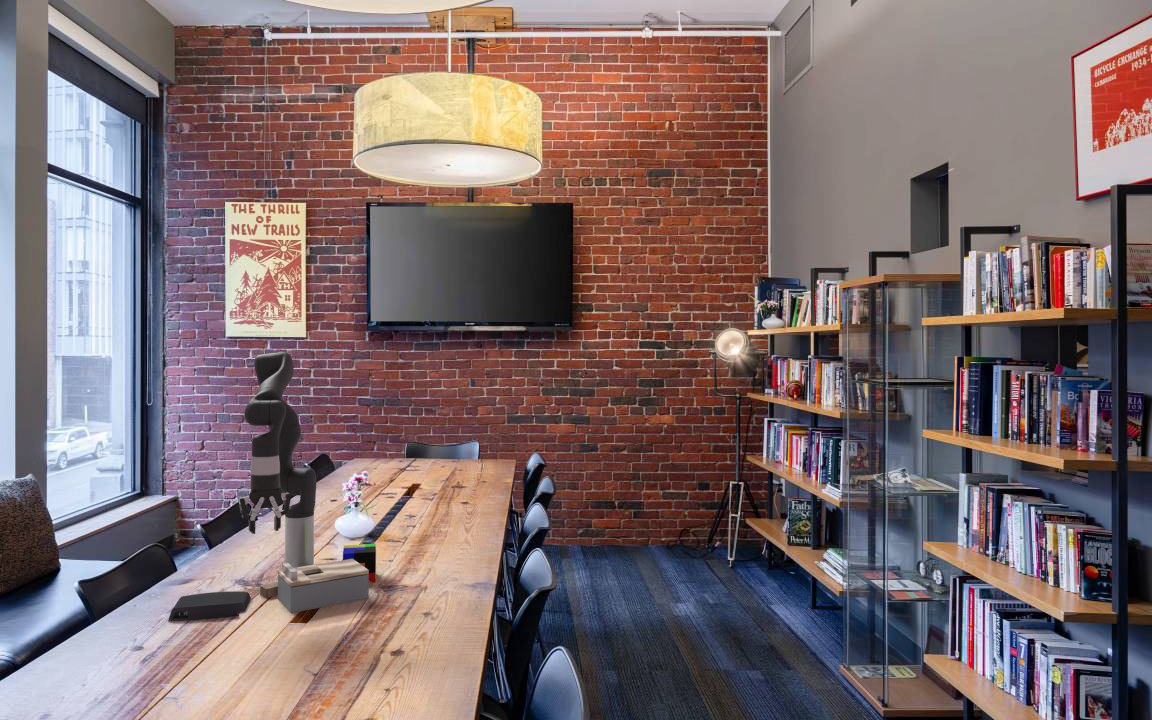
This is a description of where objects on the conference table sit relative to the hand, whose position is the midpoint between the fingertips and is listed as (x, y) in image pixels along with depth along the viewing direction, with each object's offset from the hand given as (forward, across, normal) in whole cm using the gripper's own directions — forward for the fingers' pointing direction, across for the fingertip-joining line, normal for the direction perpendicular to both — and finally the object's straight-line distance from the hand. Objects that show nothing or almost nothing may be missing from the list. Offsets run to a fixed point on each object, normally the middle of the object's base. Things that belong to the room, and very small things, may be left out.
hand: (264, 531), depth 209 cm
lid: (+14, +16, -1) cm, 21 cm away
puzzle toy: (+23, +32, +14) cm, 42 cm away
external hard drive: (+23, -12, +9) cm, 28 cm away
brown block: (+21, +2, +11) cm, 24 cm away
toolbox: (+23, +16, -1) cm, 28 cm away
